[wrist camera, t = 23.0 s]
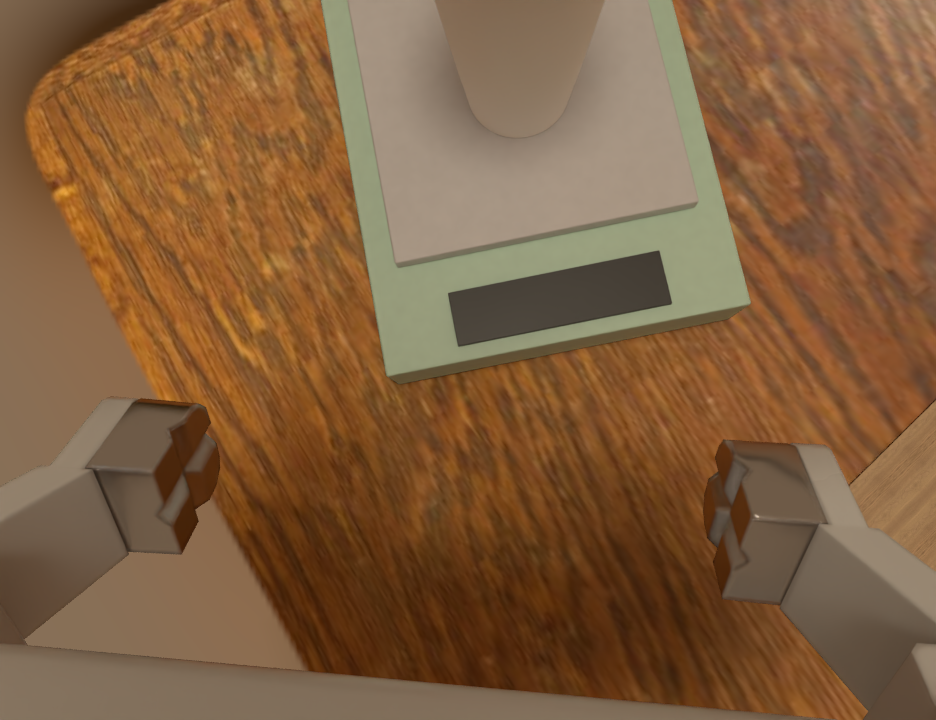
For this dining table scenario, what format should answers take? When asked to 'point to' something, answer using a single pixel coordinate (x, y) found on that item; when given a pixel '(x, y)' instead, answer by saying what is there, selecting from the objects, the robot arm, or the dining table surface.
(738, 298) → the scale
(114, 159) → the dining table surface
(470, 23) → the cup
